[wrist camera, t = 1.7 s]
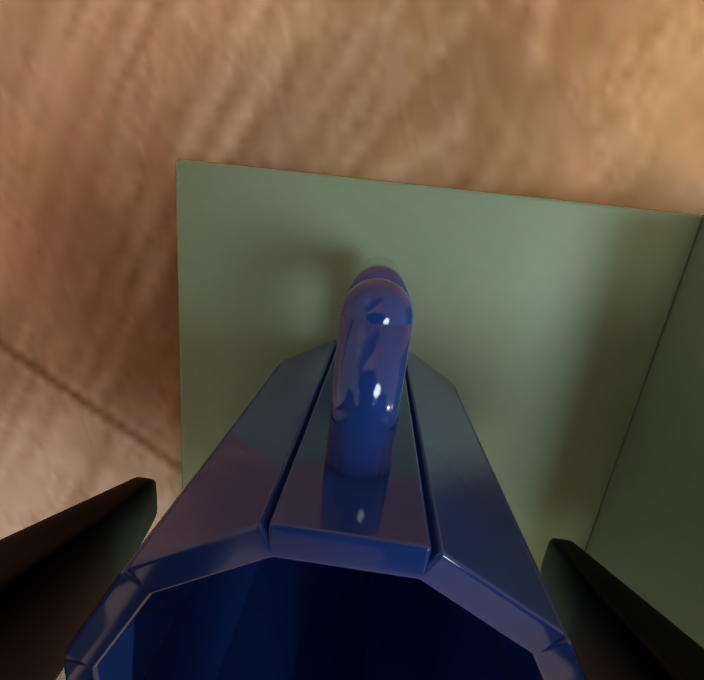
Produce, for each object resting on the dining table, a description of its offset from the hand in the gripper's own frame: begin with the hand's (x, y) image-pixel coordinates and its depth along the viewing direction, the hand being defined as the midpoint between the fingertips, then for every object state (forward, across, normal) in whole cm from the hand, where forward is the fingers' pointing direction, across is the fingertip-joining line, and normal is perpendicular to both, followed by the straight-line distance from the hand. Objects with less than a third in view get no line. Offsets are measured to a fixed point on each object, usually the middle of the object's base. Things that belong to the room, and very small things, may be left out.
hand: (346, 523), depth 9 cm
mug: (+3, 0, -1) cm, 3 cm away
